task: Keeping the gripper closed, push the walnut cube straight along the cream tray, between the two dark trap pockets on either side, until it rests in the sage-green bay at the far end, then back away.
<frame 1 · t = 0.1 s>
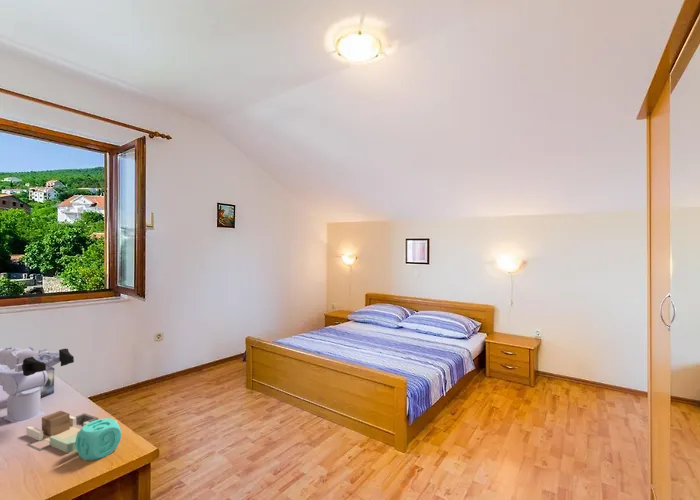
hand: (58, 363, 111), 22 cm above the table, tool horizontal, fingers open, 7 cm apart
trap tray: (65, 437, 107), on the table
walnut cube: (55, 431, 109), point 1 cm above the table, touching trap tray
small box: (34, 398, 134), on the table, touching arm
decorative dice: (98, 453, 100), on the table
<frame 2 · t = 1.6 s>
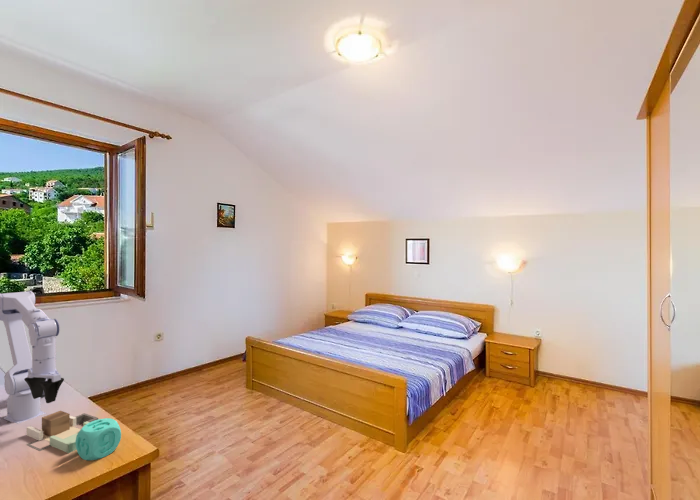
hand: (44, 399, 112), 9 cm above the table, tool pointing down, fingers open, 7 cm apart
small box: (34, 398, 134), on the table
everything else where it was.
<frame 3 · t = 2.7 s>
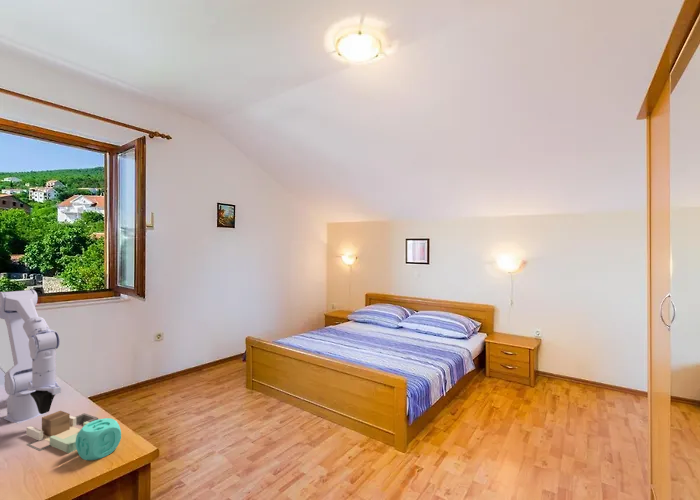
hand: (44, 412, 112), 5 cm above the table, tool pointing down, fingers closed
nothing on the table moved.
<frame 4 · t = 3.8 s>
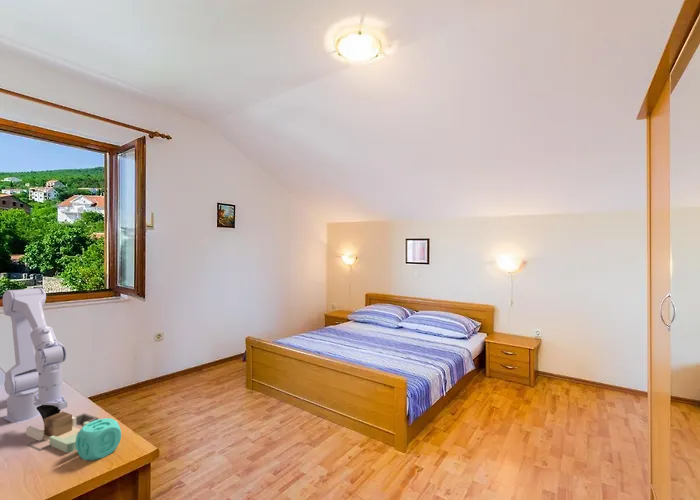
hand: (50, 426, 111), 1 cm above the table, tool pointing down, fingers closed
walnut cube: (58, 432, 109), point 1 cm above the table, touching gripper
everything else where it was.
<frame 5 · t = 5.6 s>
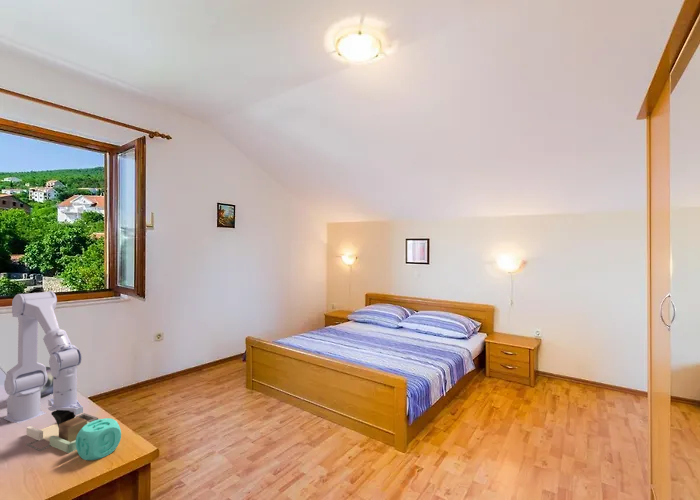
hand: (65, 432, 107), 1 cm above the table, tool pointing down, fingers closed
walnut cube: (73, 438, 106), point 1 cm above the table, touching gripper
everything else where it was.
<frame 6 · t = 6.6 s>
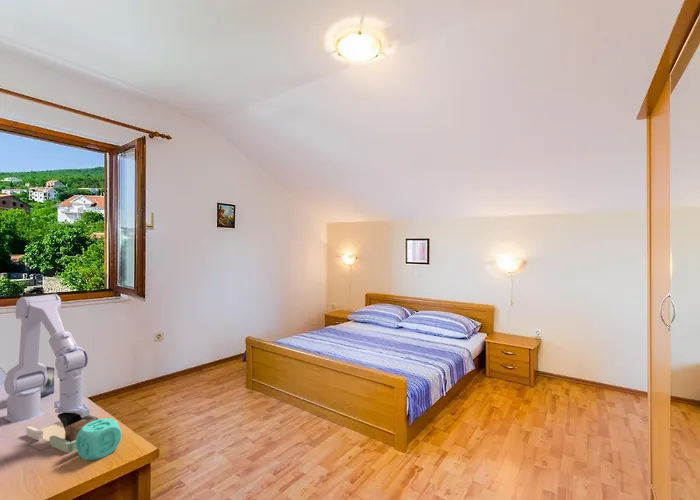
hand: (71, 435, 106), 1 cm above the table, tool pointing down, fingers closed
walnut cube: (79, 441, 104), point 1 cm above the table, touching gripper, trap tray
everything else where it was.
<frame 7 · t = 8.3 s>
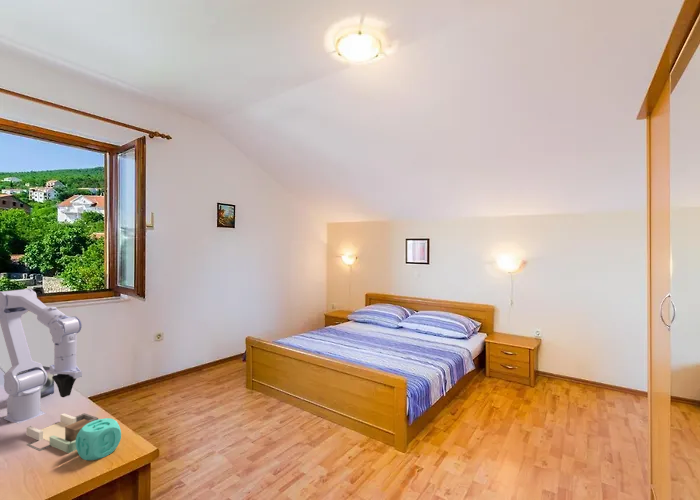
hand: (65, 395, 114), 10 cm above the table, tool pointing down, fingers closed
walnut cube: (79, 441, 104), point 1 cm above the table, touching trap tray
everything else where it was.
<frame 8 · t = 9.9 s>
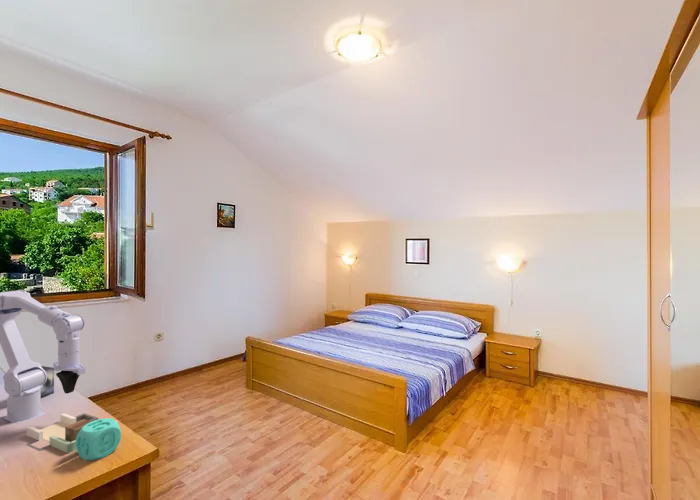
hand: (69, 392, 117), 10 cm above the table, tool pointing down, fingers closed
nothing on the table moved.
at the end: walnut cube inside the target area (1.1 cm from its centre), point 0.6 cm above the table; walnut cube tilted 0°; walnut cube moved 12.6 cm from its start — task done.
